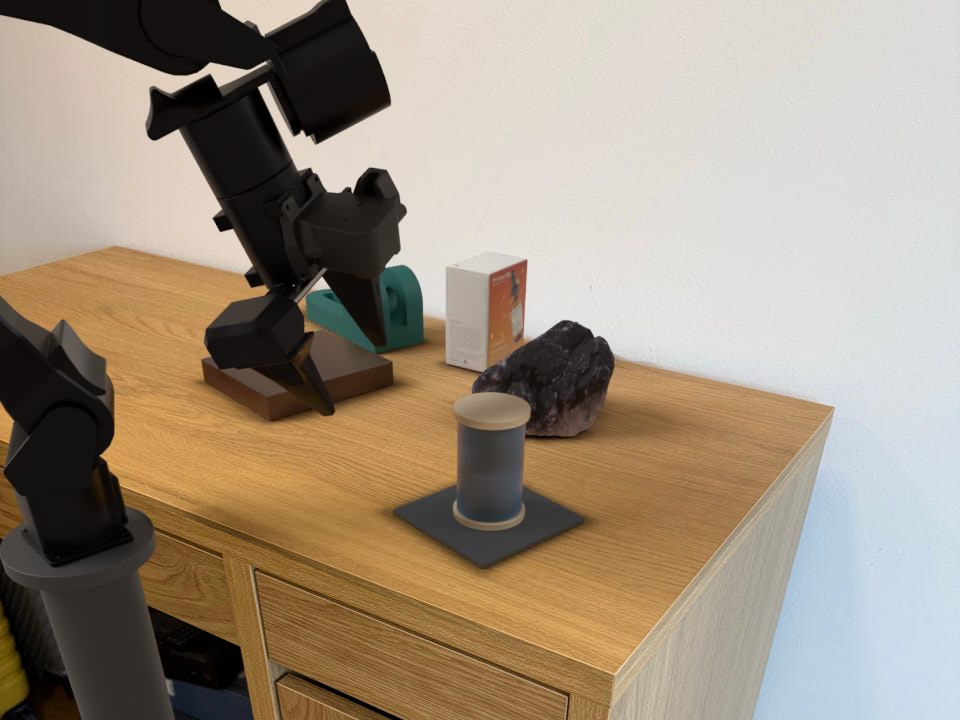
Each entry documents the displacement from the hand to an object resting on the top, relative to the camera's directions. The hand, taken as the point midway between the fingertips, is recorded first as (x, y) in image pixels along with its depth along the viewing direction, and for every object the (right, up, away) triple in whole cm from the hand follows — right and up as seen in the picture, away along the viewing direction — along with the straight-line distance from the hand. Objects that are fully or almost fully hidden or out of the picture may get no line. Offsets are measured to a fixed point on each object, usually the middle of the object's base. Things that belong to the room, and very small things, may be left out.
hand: (356, 379), depth 71 cm
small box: (+10, +11, +32) cm, 35 cm away
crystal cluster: (+16, +2, +20) cm, 25 cm away
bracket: (-5, +18, +40) cm, 44 cm away
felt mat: (+10, -10, +3) cm, 15 cm away
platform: (-9, +7, +25) cm, 28 cm away
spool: (+10, -10, +3) cm, 15 cm away
